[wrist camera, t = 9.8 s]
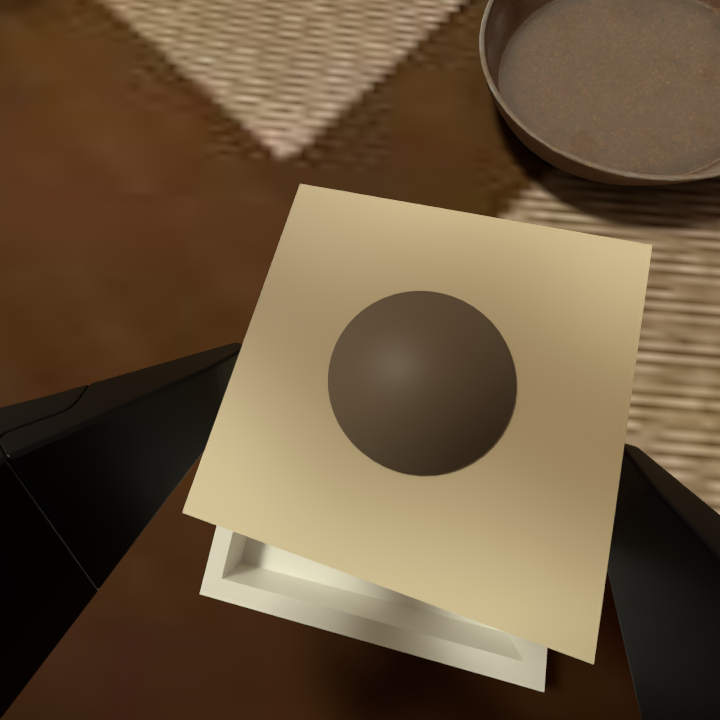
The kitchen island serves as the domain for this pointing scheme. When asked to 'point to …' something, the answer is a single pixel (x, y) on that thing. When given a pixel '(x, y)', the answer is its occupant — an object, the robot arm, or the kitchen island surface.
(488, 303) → the maple block
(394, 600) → the tray
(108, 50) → the kitchen island surface
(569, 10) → the plant saucer
